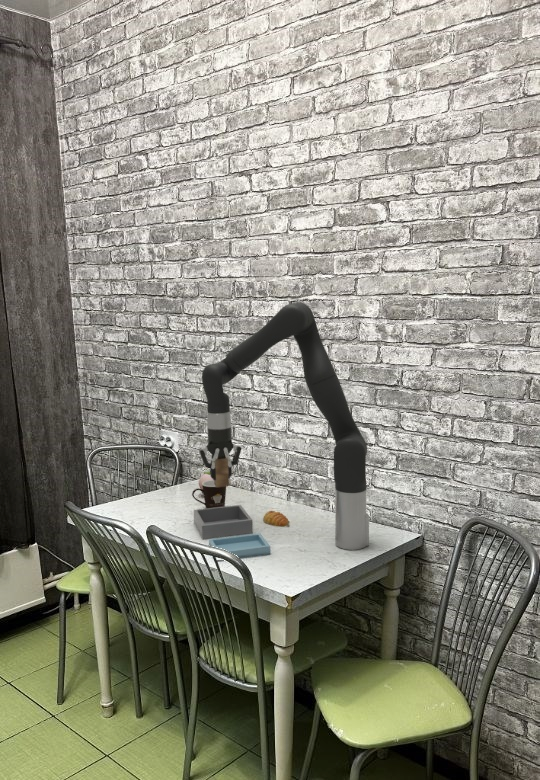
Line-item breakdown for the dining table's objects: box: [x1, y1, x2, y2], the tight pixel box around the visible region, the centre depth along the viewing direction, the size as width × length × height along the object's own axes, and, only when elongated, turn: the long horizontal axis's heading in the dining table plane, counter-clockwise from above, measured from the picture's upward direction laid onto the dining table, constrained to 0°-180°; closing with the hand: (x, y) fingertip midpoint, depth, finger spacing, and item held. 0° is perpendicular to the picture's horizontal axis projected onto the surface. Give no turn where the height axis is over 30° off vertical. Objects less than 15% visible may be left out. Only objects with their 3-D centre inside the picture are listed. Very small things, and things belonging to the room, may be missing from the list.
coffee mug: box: [191, 480, 227, 509], centre depth 222 cm, size 12×9×10 cm
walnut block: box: [214, 457, 230, 488], centre depth 201 cm, size 4×4×9 cm
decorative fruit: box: [198, 471, 213, 489], centre depth 239 cm, size 9×8×10 cm
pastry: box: [262, 510, 290, 528], centre depth 208 cm, size 9×7×4 cm
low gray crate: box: [193, 504, 254, 541], centre depth 203 cm, size 16×16×5 cm
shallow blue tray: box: [208, 533, 271, 559], centre depth 186 cm, size 16×11×2 cm
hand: (221, 478), depth 202 cm, fingers closed on walnut block, 4 cm apart
